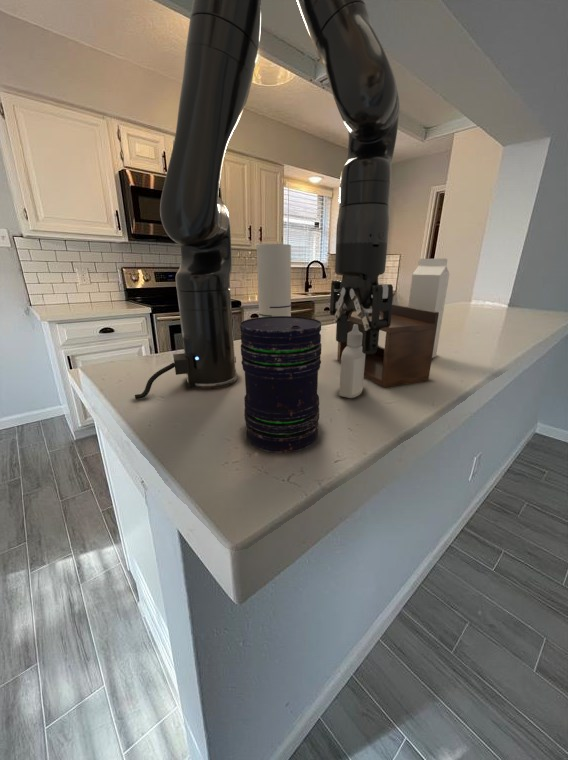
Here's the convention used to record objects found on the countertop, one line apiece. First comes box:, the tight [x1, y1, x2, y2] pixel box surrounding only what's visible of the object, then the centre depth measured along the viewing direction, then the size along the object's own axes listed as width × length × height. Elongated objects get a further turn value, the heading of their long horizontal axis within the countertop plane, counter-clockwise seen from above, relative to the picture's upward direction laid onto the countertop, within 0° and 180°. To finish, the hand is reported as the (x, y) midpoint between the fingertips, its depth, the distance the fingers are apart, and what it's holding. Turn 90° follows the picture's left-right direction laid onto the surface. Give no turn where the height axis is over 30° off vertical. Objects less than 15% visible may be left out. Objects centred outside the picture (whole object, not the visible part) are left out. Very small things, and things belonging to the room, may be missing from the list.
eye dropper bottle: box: [338, 324, 365, 399], centre depth 54 cm, size 4×6×12 cm
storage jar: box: [239, 315, 322, 454], centre depth 41 cm, size 10×10×15 cm
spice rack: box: [336, 303, 439, 388], centre depth 66 cm, size 10×18×13 cm, turn 20°
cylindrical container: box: [256, 243, 292, 318], centre depth 72 cm, size 7×7×25 cm
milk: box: [407, 258, 450, 359], centre depth 74 cm, size 6×6×22 cm
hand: (354, 347), depth 54 cm, fingers open, 8 cm apart
